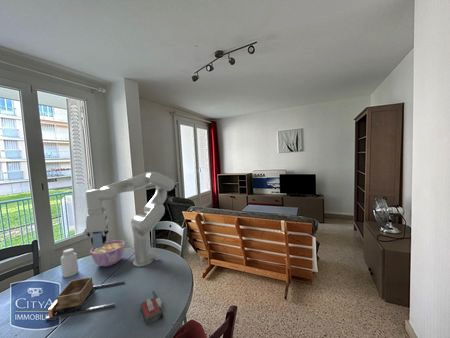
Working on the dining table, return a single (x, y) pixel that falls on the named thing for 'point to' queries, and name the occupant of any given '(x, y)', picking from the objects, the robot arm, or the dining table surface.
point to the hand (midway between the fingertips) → (99, 242)
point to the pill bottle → (69, 263)
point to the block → (97, 240)
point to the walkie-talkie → (151, 309)
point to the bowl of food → (108, 253)
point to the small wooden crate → (74, 294)
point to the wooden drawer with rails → (53, 310)
